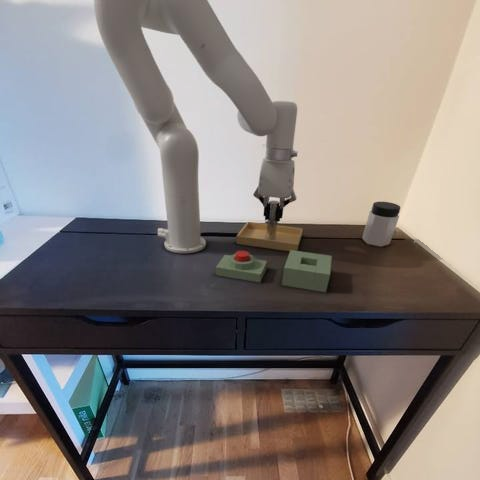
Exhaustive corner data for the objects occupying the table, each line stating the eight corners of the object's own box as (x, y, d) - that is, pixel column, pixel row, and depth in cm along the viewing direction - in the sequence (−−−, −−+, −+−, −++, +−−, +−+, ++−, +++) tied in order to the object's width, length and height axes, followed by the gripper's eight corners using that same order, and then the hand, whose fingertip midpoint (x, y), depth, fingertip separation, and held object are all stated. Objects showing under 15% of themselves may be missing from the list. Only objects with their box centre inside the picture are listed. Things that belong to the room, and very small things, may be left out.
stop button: (233, 261, 81) (233, 255, 80) (237, 256, 83) (237, 249, 82) (247, 263, 80) (247, 257, 79) (250, 257, 83) (250, 251, 82)
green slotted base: (281, 285, 79) (284, 267, 76) (288, 266, 87) (290, 249, 84) (325, 292, 77) (330, 274, 74) (327, 272, 85) (331, 255, 82)
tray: (236, 243, 99) (236, 235, 97) (247, 228, 110) (247, 221, 109) (296, 252, 95) (297, 244, 94) (301, 236, 106) (302, 228, 105)
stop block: (215, 275, 82) (215, 261, 79) (224, 262, 88) (224, 249, 86) (260, 282, 79) (261, 268, 77) (266, 269, 86) (267, 255, 83)
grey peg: (263, 239, 101) (266, 203, 94) (265, 234, 105) (268, 199, 98) (276, 241, 100) (280, 204, 93) (278, 236, 104) (282, 200, 97)
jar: (377, 248, 100) (389, 210, 93) (357, 239, 105) (367, 203, 98) (394, 243, 104) (407, 206, 97) (373, 235, 109) (384, 200, 102)
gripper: (309, 154, 89) (299, 218, 100) (253, 150, 92) (250, 213, 103) (306, 159, 83) (297, 226, 94) (247, 154, 86) (244, 220, 97)
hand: (272, 218), depth 99 cm, fingers closed on grey peg, 3 cm apart
